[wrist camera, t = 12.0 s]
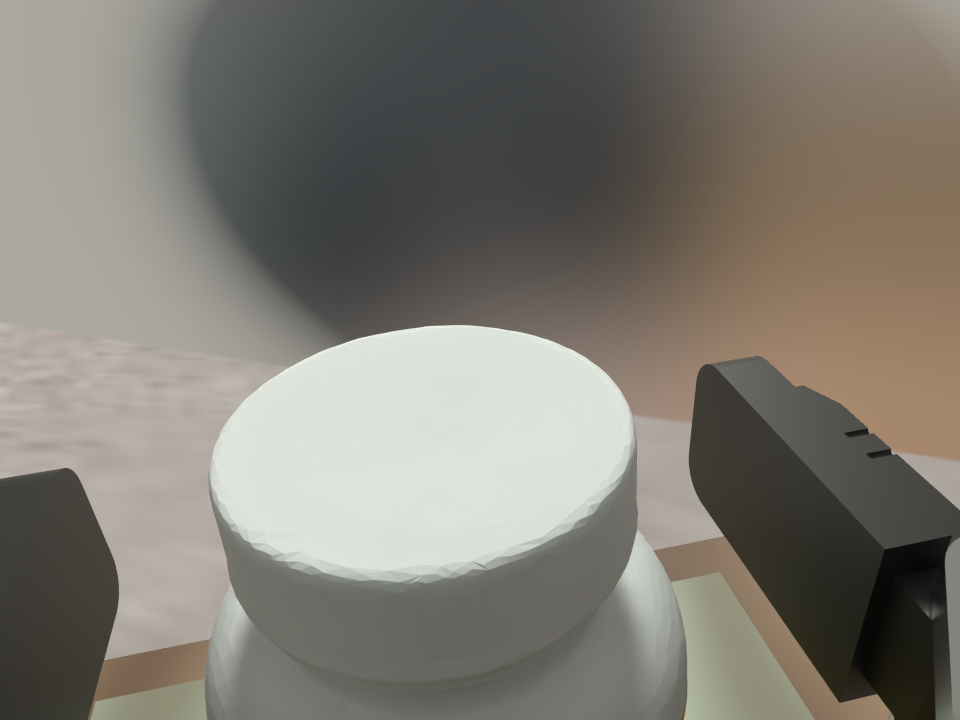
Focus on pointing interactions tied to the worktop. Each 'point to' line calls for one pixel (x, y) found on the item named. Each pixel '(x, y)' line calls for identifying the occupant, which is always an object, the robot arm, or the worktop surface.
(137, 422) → the worktop surface
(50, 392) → the worktop surface
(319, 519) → the supplement bottle
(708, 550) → the brown flat wooden block
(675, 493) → the worktop surface
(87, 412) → the worktop surface
